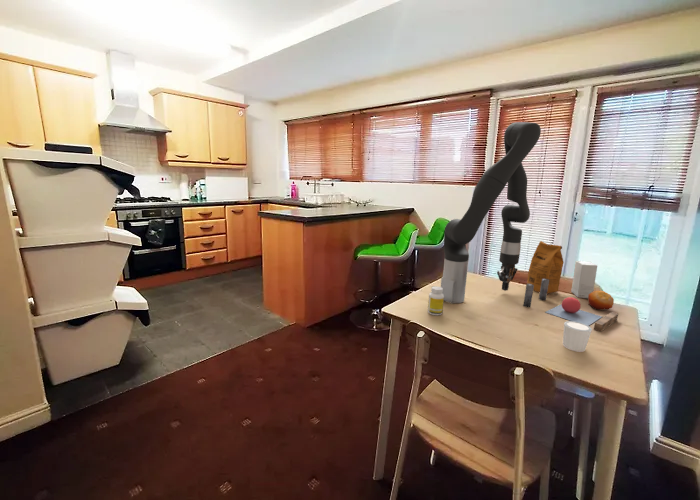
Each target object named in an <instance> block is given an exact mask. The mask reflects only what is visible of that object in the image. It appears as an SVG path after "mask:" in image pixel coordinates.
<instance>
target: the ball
mask: <svg viewBox="0 0 700 500" xmlns="http://www.w3.org/2000/svg"><path fill="white" fill-rule="evenodd" d="M561 304H562V308H563V309H564V310H565V311H566V312H568V313H576V312H578V311H579V310H581V307H582V306H581V302H580V301H579V299H577V298H576V297H572V296H568V297H565V298H564V299H563V300H562V301H561Z"/></svg>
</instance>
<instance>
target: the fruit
mask: <svg viewBox="0 0 700 500" xmlns="http://www.w3.org/2000/svg"><path fill="white" fill-rule="evenodd" d="M587 300H588V306H590V307H591V308H594V310H597V311H599V310H600V311H604V310H610V309H612V308H613V306H614V301H615V300H614V297H613V296H612V295H611V294H610V293H608V292H606V291H604V290H594V291H593V292H592V293H590V294H589V296H588V298H587Z"/></svg>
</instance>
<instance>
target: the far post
mask: <svg viewBox="0 0 700 500" xmlns="http://www.w3.org/2000/svg"><path fill="white" fill-rule="evenodd" d="M548 285H549V279H546V278H542V282H541V288H540V293H539V295H538V300H539V301H542V302H543V301H545V302H546V300H547V295H548V294H547V291H548Z"/></svg>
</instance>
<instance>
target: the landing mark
mask: <svg viewBox="0 0 700 500" xmlns="http://www.w3.org/2000/svg"><path fill="white" fill-rule="evenodd" d="M544 312H545V314H548V315H551V316H555V317H557V318H561V319H564V320H566V321H574V322H579V323H583V324H585V325H587V326H589V327H590V326H591V325H592V324H595V322H597V321H598V320H600V319H601V318H603V316H601V315H599V314H595V313H593V312H588V311H584V310H583V309H580V310H579V311H578V312H576V313H568V312H566V311H565V310H564V309H563V308H562V303H561V304H559V305H556V306H554V307H553V308H550V309H548V310H546V311H544Z"/></svg>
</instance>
